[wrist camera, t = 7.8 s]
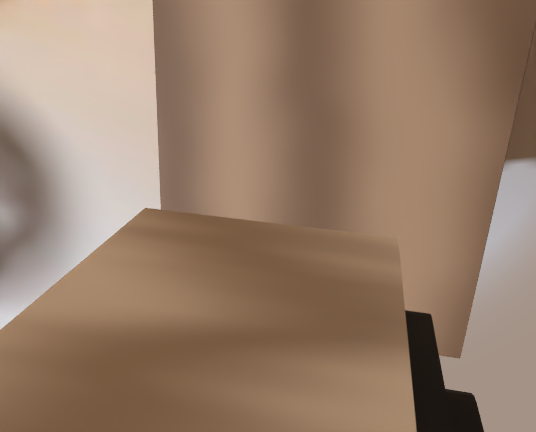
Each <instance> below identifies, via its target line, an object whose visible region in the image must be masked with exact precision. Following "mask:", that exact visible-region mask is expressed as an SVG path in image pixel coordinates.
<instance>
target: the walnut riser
mask: <svg viewBox="0 0 536 432" xmlns="http://www.w3.org/2000/svg"><path fill="white" fill-rule="evenodd" d="M153 19H154V45H155V70H156V95H157V121H158V146H159V171H160V197H161V210H167V211H175V212H184V213H192V214H201V215H209V216H218V217H226V218H235V219H243V220H252V221H260V222H269V223H277V224H286V225H294V226H303V227H311V228H320V229H328V230H337V231H346V232H354V233H363V234H371V235H380V236H388V237H397V238H398V242H399V253H400V263H401V273H402V284H403V294H404V305H405V310H407V311H415V312H422V313H429V314H431V316H432V320H433V326H434V331H435V337H436V342H437V348H438V353H439V355H441V356H447V357H454V358H460V356H461V352H462V347H463V343H464V338H465V334H466V330H467V325H468V321H469V316H470V312H471V307H472V303H473V299H474V294H475V290H476V285H477V281H478V276H479V272H480V268H481V263H482V259H483V254H484V250H485V245H486V240H487V236H488V232H489V227H490V223H491V219H492V214H493V210H494V205H495V201H496V197H497V192H498V188H499V183H500V179H501V175H502V170H503V166H504V161H505V157H506V152H507V148H508V144H509V139H510V135H511V130H512V126H513V121H514V117H515V113H516V108H517V104H518V99H519V95H520V90H521V86H522V82H523V77H524V73H525V68H526V64H527V59H528V55H529V51H530V46H531V42H532V37H533V33H534V28H535V24H536V0H153Z"/></svg>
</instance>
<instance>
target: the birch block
mask: <svg viewBox="0 0 536 432" xmlns="http://www.w3.org/2000/svg"><path fill="white" fill-rule="evenodd" d="M0 432H417V429H416V419H415V408H414V398H413V388H412V377H411V367H410V357H409V346H408V336H407V325H406V315H405V305H404V294H403V284H402V273H401V263H400V253H399V242H398V238H397V237H388V236H380V235H371V234H363V233H354V232H346V231H337V230H328V229H320V228H311V227H303V226H294V225H286V224H277V223H269V222H260V221H252V220H243V219H235V218H226V217H218V216H209V215H201V214H192V213H184V212H175V211H167V210H158V209H149V208H145V209H144V210H142V211H141V212H140V213H139V214H138V215H136V216H135V217H134V218H133V219H132V220H131V221H129V222H128V223H127V224H126V225H125V226H123V227H122V228H121V229H120V230H119V231H117V232H116V233H115V234H114V235H113V236H112V237H110V238H109V239H108V240H107V241H106V242H104V243H103V244H102V245H101V246H100V247H98V248H97V249H96V250H95V251H94V252H93V253H91V254H90V255H89V256H88V257H87V258H85V259H84V260H83V261H82V262H81V263H79V264H78V265H77V266H76V267H75V268H74V269H72V270H71V271H70V272H69V273H68V274H66V275H65V276H64V277H63V278H62V279H60V280H59V281H58V282H57V283H56V284H54V285H53V286H52V287H51V288H50V289H49V290H47V291H46V292H45V293H44V294H43V295H41V296H40V297H39V298H38V299H37V300H35V301H34V302H33V303H32V304H31V305H30V306H28V307H27V308H26V309H25V310H24V311H22V312H21V313H20V314H19V315H18V316H16V317H15V318H14V319H13V320H12V321H11V322H9V323H8V324H7V325H6V326H5V327H3V328H2V329H1V330H0Z"/></svg>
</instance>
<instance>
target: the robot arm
mask: <svg viewBox="0 0 536 432" xmlns="http://www.w3.org/2000/svg"><path fill="white" fill-rule="evenodd" d="M405 315H406V325H407V336H408V346H409V357H410V367H411V377H412V388H413V398H414V408H415V419H416V429H417V432H484V430H483V426H482V422H481V418H480V415H479V411H478V407H477V403H476V400H475V397H474V395H472V393H467V392H461V391H454V390H449V389H445V386H444V381H443V375H442V370H441V364H440V359H439V353H438V348H437V342H436V337H435V331H434V326H433V320H432V316H431V314H429V313H422V312H415V311H407V310H405Z"/></svg>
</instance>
